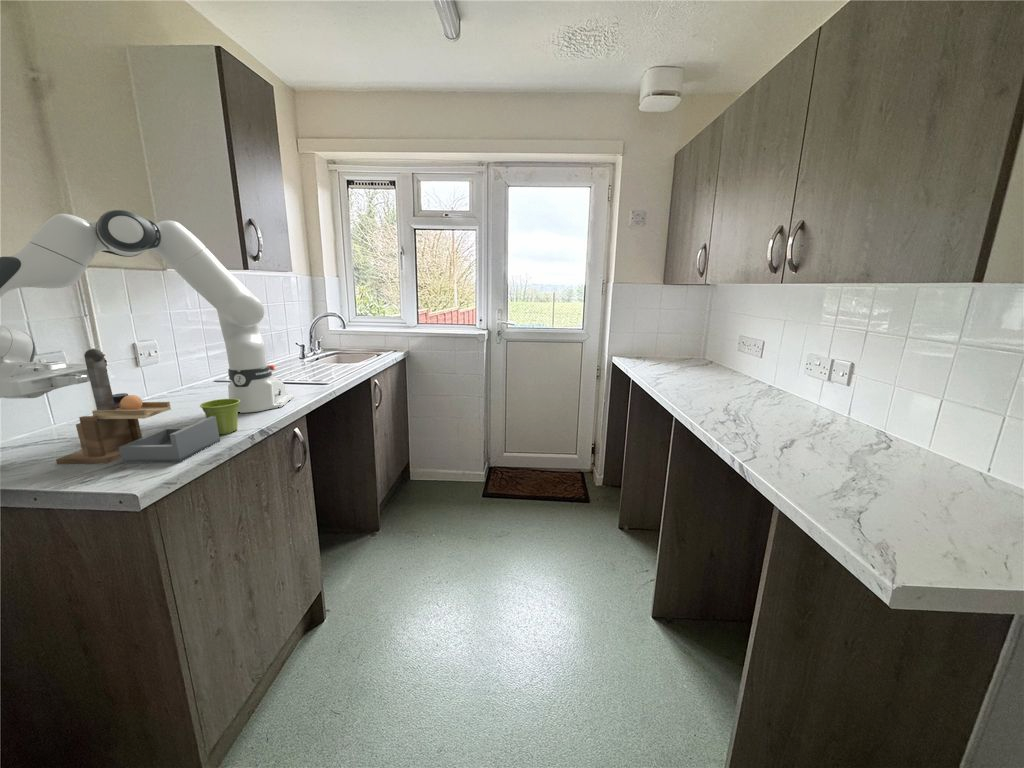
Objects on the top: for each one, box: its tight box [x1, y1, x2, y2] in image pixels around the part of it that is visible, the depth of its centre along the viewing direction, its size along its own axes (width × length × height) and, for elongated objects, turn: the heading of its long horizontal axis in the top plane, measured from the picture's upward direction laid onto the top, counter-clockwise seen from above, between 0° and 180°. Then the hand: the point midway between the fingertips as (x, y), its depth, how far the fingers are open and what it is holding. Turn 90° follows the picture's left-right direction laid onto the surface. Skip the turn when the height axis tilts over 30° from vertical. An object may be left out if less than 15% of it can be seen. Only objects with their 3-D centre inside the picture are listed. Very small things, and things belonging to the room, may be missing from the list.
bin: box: [119, 416, 221, 464], centre depth 104 cm, size 14×14×7 cm
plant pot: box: [199, 398, 240, 435], centre depth 118 cm, size 9×9×9 cm
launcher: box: [83, 348, 172, 421], centre depth 101 cm, size 9×14×17 cm, turn 91°
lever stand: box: [55, 415, 143, 465], centre depth 103 cm, size 14×12×11 cm
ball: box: [120, 394, 143, 410], centre depth 102 cm, size 4×4×4 cm
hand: (82, 379), depth 100 cm, fingers closed
